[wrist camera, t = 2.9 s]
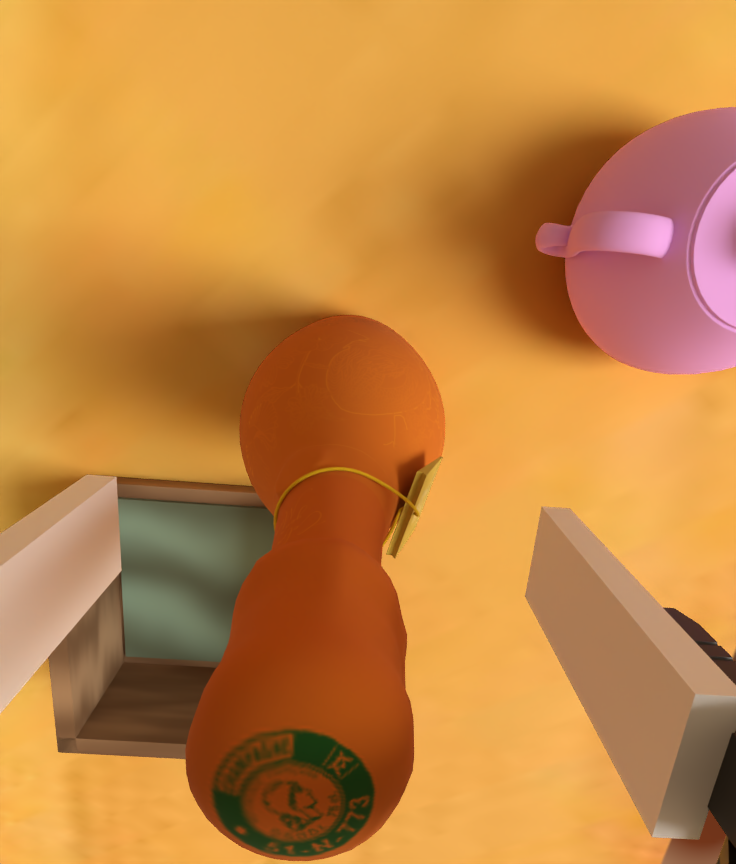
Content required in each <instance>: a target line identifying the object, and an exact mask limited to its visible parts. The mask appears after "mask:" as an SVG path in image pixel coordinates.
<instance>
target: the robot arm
mask: <svg viewBox="0 0 736 864" xmlns="http://www.w3.org/2000/svg"><path fill="white" fill-rule="evenodd" d="M121 571H122V569H121V550H120V532H119V513H118V495H117V477H114V476H99V475H85V476H84V477H83V478H81V479H80V480H78V481H77V482H75V483H74V484H72V485H71V486H69V487H68V488H66V489H65V490H63V491H62V492H61V493H59V494H58V495H56V496H55V497H53V498H52V499H50V500H49V501H47V502H46V503H44V504H43V505H41V506H40V507H39V508H37V509H36V510H34V511H33V512H31V513H30V514H28V515H27V516H25V517H24V518H22V519H21V520H20V521H18V522H17V523H15V524H14V525H12V526H11V527H9V528H8V529H6V530H5V531H3V532H2V533H0V713H1V712H2V711H3V710H4V709H5V707H6V706H7V705H8V704H9V703H10V702H11V700H12V699H13V698H14V697H15V696H16V694H17V693H18V692H19V691H20V690H21V689H22V687H23V686H24V685H25V684H26V683H27V682H28V680H29V679H30V678H31V677H32V676H33V674H34V673H35V672H36V671H37V670H38V669H39V667H40V666H41V665H42V664H43V663H44V661H45V660H46V659H47V658H48V657H49V656H50V654H51V653H52V652H53V651H54V650H55V648H56V647H57V646H58V645H59V644H60V643H61V641H62V640H63V639H64V638H65V637H66V635H67V634H68V633H69V632H70V631H71V630H72V628H73V627H74V626H75V625H76V624H77V623H78V621H79V620H80V619H81V618H82V617H83V615H84V614H85V613H86V612H87V611H88V610H89V608H90V607H91V606H92V605H93V604H94V602H95V601H96V600H97V599H98V598H99V597H100V595H101V594H102V593H103V592H104V591H105V589H106V588H107V587H108V586H109V585H110V584H111V582H112V581H113V580H114V579H115V578H116V576H117V575H118V574H119V573H120V572H121ZM525 597H526V599H527V601H528V603H529V605H530V607H531V609H532V610H533V612H534V614H535V616H536V618H537V620H538V622H539V624H540V626H541V628H542V629H543V631H544V633H545V635H546V637H547V639H548V641H549V643H550V645H551V647H552V648H553V650H554V652H555V654H556V656H557V658H558V660H559V662H560V664H561V665H562V667H563V669H564V671H565V673H566V675H567V677H568V679H569V681H570V683H571V684H572V686H573V688H574V690H575V692H576V694H577V696H578V698H579V700H580V701H581V703H582V705H583V707H584V709H585V711H586V713H587V715H588V717H589V719H590V720H591V722H592V724H593V726H594V728H595V730H596V732H597V734H598V736H599V738H600V739H601V741H602V743H603V745H604V747H605V749H606V751H607V753H608V755H609V756H610V758H611V760H612V762H613V764H614V766H615V768H616V770H617V772H618V774H619V775H620V777H621V779H622V781H623V783H624V785H625V787H626V789H627V791H628V793H629V794H630V796H631V798H632V800H633V802H634V804H635V806H636V808H637V810H638V811H639V813H640V815H641V817H642V819H643V821H644V823H645V825H646V827H647V829H648V830H649V832H650V834H651V836H652V837H659V838H679V839H699V838H700V835H701V832H702V829H703V826H704V823H705V820H706V817H707V814H708V811H709V810H710V811H711V813H712V814H713V816H714V817H715V819H716V820H717V822H718V823H719V825H720V826H721V827H722V829H723V831H724V832H725V834H726V838H725V841H724V844H723V846H722V849H721V852H720V855H719V858H718V860H717V863H716V864H736V661H733V660H732V657H731V656H730V655H729V654H728V653H727V652H726V651H725V650H724V649H723V648H722V647H721V646H718V645H717V642H716V641H715V640H714V639H713V638H712V637H711V636H710V635H709V634H708V633H707V632H706V631H705V630H704V629H703V628H702V627H701V626H700V625H699V624H698V623H696V622H695V621H693V620H692V619H690V618H689V617H687V616H685V615H684V614H682V613H681V612H679V611H678V610H676V609H674V608H663V607H662V606H661V605H660V604H659V603H658V602H657V601H656V600H655V599H654V598H653V597H652V596H651V595H650V593H649V592H648V591H647V590H646V589H645V588H644V587H643V586H642V585H641V584H640V583H639V582H638V581H637V580H636V579H635V577H634V576H633V575H632V574H631V573H630V572H629V571H628V570H627V569H626V568H625V567H624V566H623V565H622V564H621V563H620V561H619V560H618V559H617V558H616V557H615V556H614V555H613V554H612V553H611V552H610V551H609V550H608V549H607V548H606V547H605V545H604V544H603V543H602V542H601V541H600V540H599V539H598V538H597V537H596V536H595V535H594V534H593V533H592V532H591V531H590V530H589V528H588V527H587V526H586V525H585V524H584V523H583V522H582V521H581V520H580V519H579V518H578V517H577V516H576V515H575V514H574V512H573V511H572V510H571V509H570V508H555V507H542V508H541V513H540V518H539V524H538V529H537V535H536V540H535V546H534V551H533V556H532V562H531V567H530V573H529V578H528V583H527V589H526V594H525Z"/></svg>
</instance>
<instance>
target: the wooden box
mask: <svg viewBox="0 0 736 864" xmlns="http://www.w3.org/2000/svg"><path fill="white" fill-rule="evenodd" d="M117 495H118V513H119V532H120V550H121V569H122V571H121V572H120V573H119V574H118V575H117V576H116V578H115V579H114V580H113V581H112V582H111V584H110V585H109V586H108V587H107V588H106V589H105V591H104V592H103V593H102V594H101V595H100V597H99V598H98V599H97V600H96V601H95V602H94V604H93V605H92V606H91V607H90V608H89V610H88V611H87V612H86V613H85V614H84V615H83V617H82V618H81V619H80V620H79V621H78V623H77V624H76V625H75V626H74V627H73V628H72V630H71V631H70V632H69V633H68V634H67V635H66V637H65V638H64V639H63V640H62V641H61V643H60V644H59V645H58V646H57V647H56V648H55V650H54V651H53V652H52V653H51V654H50V656H49V667H50V677H51V687H52V697H53V707H54V716H55V726H56V736H57V746H58V752H62V753H81V754H100V755H119V756H138V757H157V758H176V759H186V754H185V749H186V744H187V739H188V735H189V730H190V727H191V724H192V721H193V718H194V715H195V713H196V710H197V707H198V704H199V701H200V699H201V696H202V693H203V690H204V688H205V686H206V685H207V683H208V681H209V679H210V678H211V676H212V674H213V672H214V671H215V669H216V668H217V666H218V665H219V663H220V662H221V660H222V657H223V655H224V652H225V650H226V647H227V645H228V642H229V638H230V631H231V624H232V618H233V611H234V607H235V602H236V599H237V596H238V594H239V591H240V589H241V586H242V584H243V582H244V581H245V579H246V578H247V576H248V575H249V573H250V572H251V570H252V568H253V567H254V565H255V563H256V561H257V560H258V559H260V558H261V557H262V556H264V555H265V554H267V553H268V552H269V551H271V550H272V545H273V540H274V534H275V531H274V516H273V515H272V513H271V512H270V511H269V510H268V509H267V508H266V506H265V505H264V503H263V502H262V501H261V499H260V498H259V496H258V495H257V493H256V491H255V489H254V487H252V486H237V485H223V484H209V483H195V482H180V481H166V480H152V479H138V478H123V477H117Z"/></svg>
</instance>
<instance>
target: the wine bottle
mask: <svg viewBox="0 0 736 864" xmlns="http://www.w3.org/2000/svg"><path fill="white" fill-rule="evenodd" d="M444 439H445V417H444V408H443V404H442V399H441V396H440V393H439V390H438V387H437V384H436V382H435V380H434V378H433V376H432V374H431V372H430V370H429V369H428V367H427V366H426V364H425V363H424V361H423V360H422V358H421V357H420V356H419V355H418V353H417V352H416V351H415V350H414V349H413V347H412V346H411V345H410V344H409V343H408V342H406V341H405V340H404V339H403V338H402V337H401V336H400V335H399V334H397V333H396V332H395V331H394V330H392V329H391V328H389V327H387V326H386V325H384V324H382V323H380V322H378V321H375V320H373V319H370V318H366V317H362V316H355V315H340V316H333V317H329V318H325V319H322V320H319V321H317V322H314V323H312V324H310V325H307V326H305V327H304V328H302V329H300V330H298V331H297V332H295V333H294V334H292V335H290V336H289V337H288V338H286V339H285V340H284V341H283V342H281V343H280V344H279V345H278V346H277V347H276V348H275V349H274V350H273V351H272V352H271V353H270V354H269V355H268V356H267V357H266V358H265V360H264V361H263V362H262V363H261V365H260V366H259V367H258V369H257V371H256V372H255V374H254V376H253V377H252V379H251V382H250V384H249V386H248V388H247V391H246V394H245V397H244V400H243V404H242V410H241V415H240V445H241V451H242V457H243V460H244V464H245V467H246V471H247V473H248V476H249V478H250V481H251V483H252V485H253V487H254V489H255V491H256V493H257V495H258V496H259V498H260V499H261V501H262V502H263V503H264V505H265V506H266V508H267V509H268V510H269V511H270V512H271V513H272V515H273V516H274V531H275V534H274V540H273V545H272V550H271V551H269V552H268V553H267V554H265V555H264V556H262V557H261V558H260V559H258V560H257V561H256V563H255V565H254V567H253V568H252V570H251V572H250V573H249V575H248V576H247V578H246V579H245V581H244V582H243V584H242V586H241V589H240V591H239V594H238V596H237V599H236V602H235V607H234V611H233V618H232V624H231V631H230V638H229V642H228V645H227V647H226V650H225V652H224V655H223V657H222V660H221V662H220V663H219V665H218V666H217V668H216V669H215V671H214V672H213V674H212V676H211V678H210V679H209V681H208V683H207V685H206V686H205V688H204V690H203V693H202V696H201V699H200V701H199V704H198V707H197V710H196V713H195V715H194V718H193V721H192V724H191V727H190V730H189V735H188V739H187V744H186V749H185V754H186V773H187V777H188V782H189V786H190V790H191V792H192V794H193V796H194V798H195V800H196V802H197V804H198V806H199V807H200V809H201V810H202V812H203V813H204V815H205V816H206V818H207V819H208V820H209V821H210V822H211V823H212V824H213V825H214V826H215V827H216V828H217V829H218V830H219V831H220V832H221V833H222V834H224V835H225V836H226V837H227V838H229V839H230V840H232V841H233V842H235V843H236V844H238V845H239V846H241V847H243V848H245V849H247V850H249V851H252V852H254V853H256V854H259V855H263V856H266V857H269V858H273V859H280V860H288V861H311V860H318V859H324V858H328V857H332V856H335V855H338V854H341V853H344V852H347V851H349V850H352V849H353V848H355V847H356V846H358V845H360V844H361V843H363V842H365V841H366V840H368V839H369V838H370V837H371V836H372V835H373V834H375V833H376V832H377V831H378V830H379V829H380V828H381V827H382V826H383V825H384V823H385V822H386V821H387V819H388V818H389V816H390V815H391V814H392V812H393V811H394V809H395V808H396V806H397V805H398V803H399V801H400V799H401V797H402V795H403V793H404V791H405V788H406V786H407V783H408V781H409V778H410V776H411V773H412V771H413V761H414V726H413V714H412V709H411V703H410V700H409V697H408V695H407V693H406V690H405V656H406V648H407V633H406V629H405V626H404V623H403V619H402V615H401V610H400V605H399V600H398V596H397V593H396V590H395V588H394V586H393V584H392V582H391V579H390V577H389V576H388V575H387V573H386V572H385V571H384V569H383V568H382V567H381V558H382V547H383V546H384V544H385V543H386V542H387V540H388V539H389V537H390V535H391V534H392V532H393V530H394V528H395V526H396V524H397V523H398V524H397V526H396V529H395V532H394V534H393V537H392V540H391V542H390V545H389V548H388V550H387V553H386V554H387V555H392V556H393V557H394V558H396V556H397V555H398V553H399V552H400V551H401V549H402V548H403V546H404V545H405V543H406V542H407V540H408V539H409V537H410V536H411V534H412V533H413V531H414V530H415V528H416V525H417V523H418V520H419V518H420V515H421V512H422V510H423V507H424V505H425V502H426V499H427V497H428V494H429V492H430V489H431V486H432V484H433V481H434V479H435V476H436V473H437V471H438V468H439V466H440V463H441V460H442V458H443V457H441V455H442V451H443V446H444ZM389 528H391V529H390V531H389ZM388 531H389V532H388Z"/></svg>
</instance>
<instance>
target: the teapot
mask: <svg viewBox="0 0 736 864" xmlns="http://www.w3.org/2000/svg"><path fill="white" fill-rule="evenodd" d="M535 242H536V248H537V249H538V250H539V251H540V252H542V253H545V254H548V255H552V256H557V257H565V276H566V283H567V290H568V294H569V298H570V301H571V304H572V308H573V310H574V312H575V314H576V317H577V319H578V321H579V323H580V324H581V326H582V327H583V329H584V331H585V332H586V334H587V335H588V336H589V337H590V338H591V339H592V341H593V342H594V343H595V344H596V345H597V346H598V347H599V348H601V349H602V350H603V351H604V352H605V353H607V354H608V355H610V356H611V357H613V358H614V359H616V360H618V361H620V362H622V363H624V364H627V365H629V366H631V367H635V368H638V369H642V370H645V371H650V372H655V373H663V374H698V373H706V372H713V371H720V370H724V369H728V368H732V367H736V107H729V108H717V109H710V110H704V111H698V112H694V113H690V114H686V115H683V116H679V117H676V118H673V119H671V120H668V121H666V122H664V123H662V124H659V125H657V126H655V127H653V128H651V129H648V130H647V131H645V132H643V133H642V134H640V135H638V136H637V137H635V138H633V139H632V140H631V141H630V142H628V143H627V144H626V145H624V146H623V147H622V148H621V149H619V150H618V151H617V152H616V153H615V154H614V155H613V156H612V157H611V158H610V159H609V160H608V161H607V162H606V163H605V164H604V166H603V167H602V168H601V169H600V171H599V172H598V173H597V174H596V176H595V177H594V178H593V180H592V182H591V183H590V185H589V186H588V188H587V189H586V191H585V193H584V195H583V197H582V199H581V201H580V203H579V205H578V207H577V210H576V213H575V216H574V218H573V221H572V224H571V226H565V225H560V224H555V223H544V224H543V225H542V226H541V227H540V229H539V230H538V232H537V235H536V240H535Z"/></svg>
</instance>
